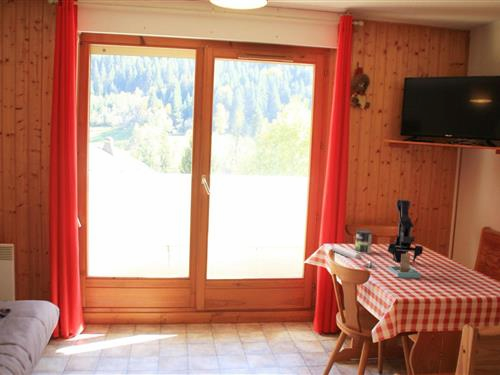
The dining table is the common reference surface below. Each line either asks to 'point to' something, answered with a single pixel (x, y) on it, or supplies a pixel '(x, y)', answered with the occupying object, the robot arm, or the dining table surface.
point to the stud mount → (370, 266)
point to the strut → (404, 263)
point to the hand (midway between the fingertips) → (405, 261)
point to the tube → (345, 252)
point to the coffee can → (363, 241)
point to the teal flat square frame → (405, 275)
